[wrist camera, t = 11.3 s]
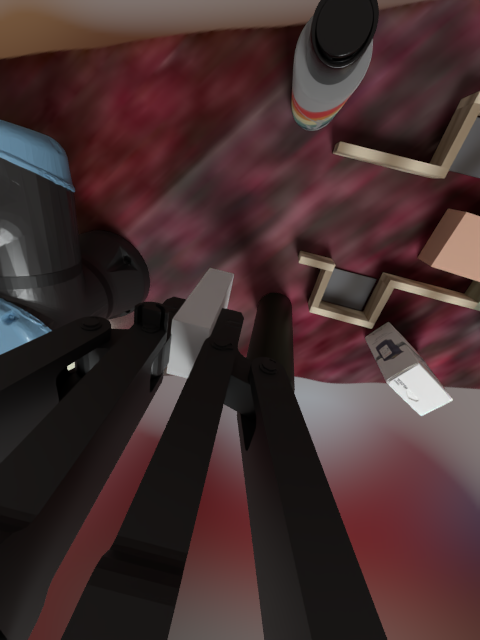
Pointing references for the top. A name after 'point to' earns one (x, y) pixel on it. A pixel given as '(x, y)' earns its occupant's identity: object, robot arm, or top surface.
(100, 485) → the robot arm
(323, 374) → the top surface
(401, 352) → the ink box
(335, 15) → the lotion bottle
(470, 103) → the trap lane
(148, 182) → the top surface
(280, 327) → the wine bottle
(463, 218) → the block
